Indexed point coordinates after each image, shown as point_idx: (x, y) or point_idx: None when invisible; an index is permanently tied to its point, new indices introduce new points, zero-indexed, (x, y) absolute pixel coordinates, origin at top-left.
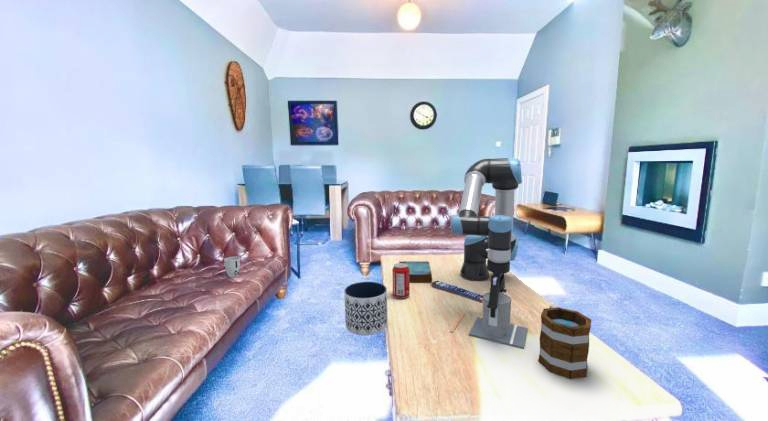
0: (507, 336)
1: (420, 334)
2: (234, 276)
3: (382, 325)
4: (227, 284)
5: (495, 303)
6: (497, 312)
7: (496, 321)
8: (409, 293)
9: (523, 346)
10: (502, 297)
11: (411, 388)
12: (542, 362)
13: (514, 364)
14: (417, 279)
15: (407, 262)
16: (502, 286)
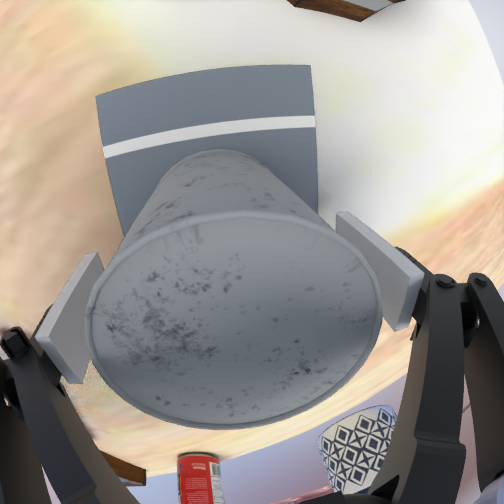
0: (252, 150)
1: (360, 371)
2: (290, 502)
3: (376, 416)
4: (310, 495)
5: (500, 305)
6: (399, 254)
7: (365, 227)
8: (186, 459)
9: (304, 68)
10: (172, 329)
11: (497, 278)
12: (379, 10)
13: (417, 100)
14: (108, 461)
15: None
16: (64, 425)
